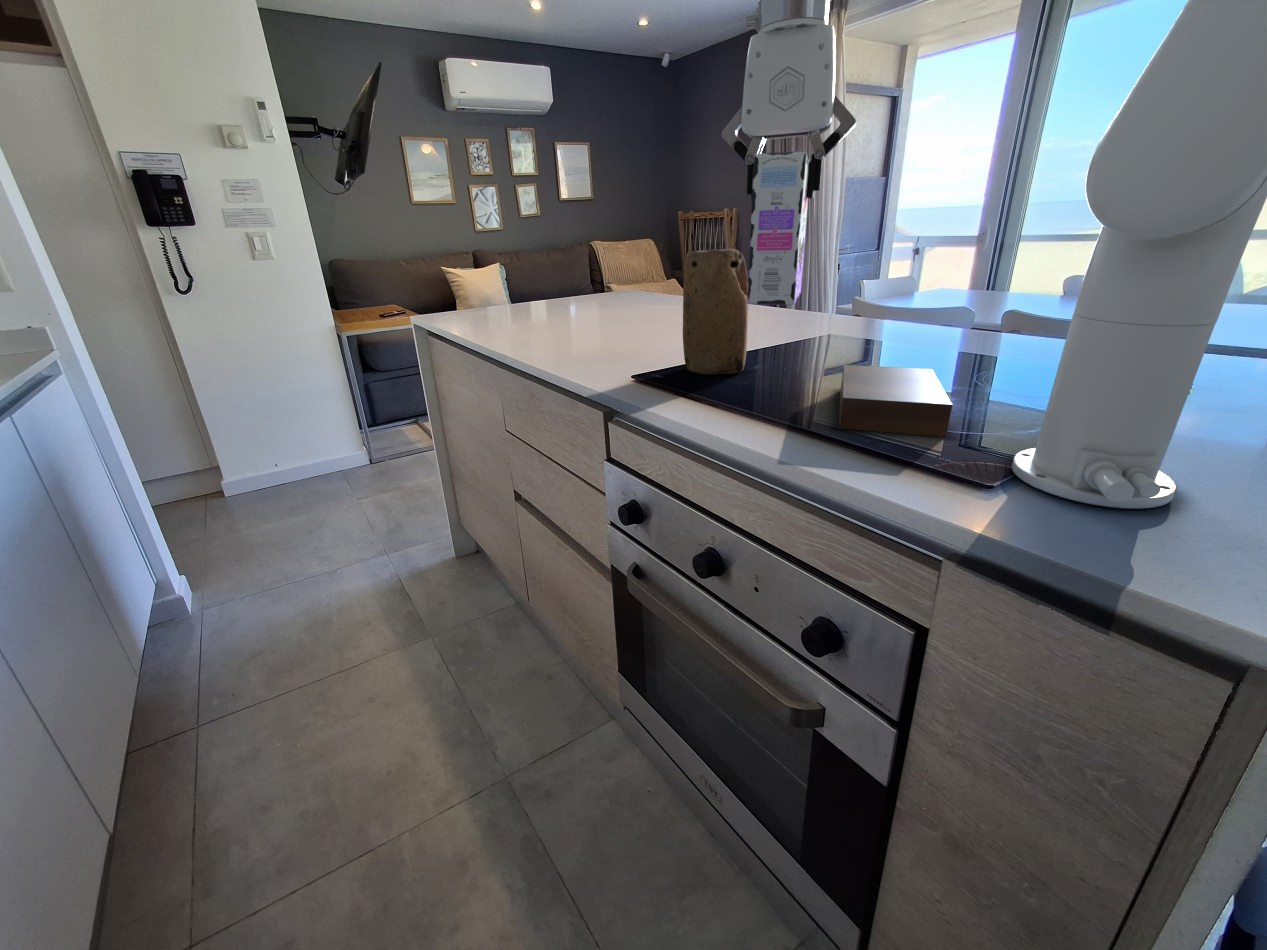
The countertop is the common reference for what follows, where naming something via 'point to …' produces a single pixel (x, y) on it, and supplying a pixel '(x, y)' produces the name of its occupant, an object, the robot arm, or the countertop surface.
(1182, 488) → the countertop surface
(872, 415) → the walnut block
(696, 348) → the block
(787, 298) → the candy box
